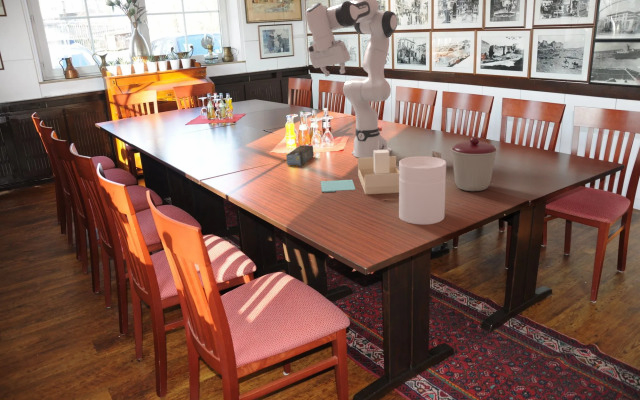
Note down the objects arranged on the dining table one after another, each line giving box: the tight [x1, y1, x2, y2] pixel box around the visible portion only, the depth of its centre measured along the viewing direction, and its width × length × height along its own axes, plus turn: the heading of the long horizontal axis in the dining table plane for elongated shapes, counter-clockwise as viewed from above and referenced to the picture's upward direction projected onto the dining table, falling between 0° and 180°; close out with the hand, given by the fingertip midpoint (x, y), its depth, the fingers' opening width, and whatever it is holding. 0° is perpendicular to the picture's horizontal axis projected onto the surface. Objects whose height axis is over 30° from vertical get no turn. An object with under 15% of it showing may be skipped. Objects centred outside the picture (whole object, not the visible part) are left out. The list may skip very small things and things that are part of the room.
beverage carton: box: [286, 145, 315, 167], centre depth 266 cm, size 8×19×7 cm, turn 161°
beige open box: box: [357, 155, 399, 195], centre depth 222 cm, size 17×27×8 cm, turn 2°
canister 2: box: [450, 136, 499, 192], centre depth 210 cm, size 18×18×21 cm
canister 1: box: [398, 155, 447, 225], centre depth 183 cm, size 16×16×20 cm
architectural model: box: [431, 151, 442, 159], centre depth 244 cm, size 3×7×7 cm, turn 32°
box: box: [373, 150, 390, 174], centre depth 221 cm, size 6×5×14 cm
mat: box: [320, 179, 356, 193], centre depth 223 cm, size 14×14×1 cm
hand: (335, 74), depth 228 cm, fingers open, 8 cm apart
